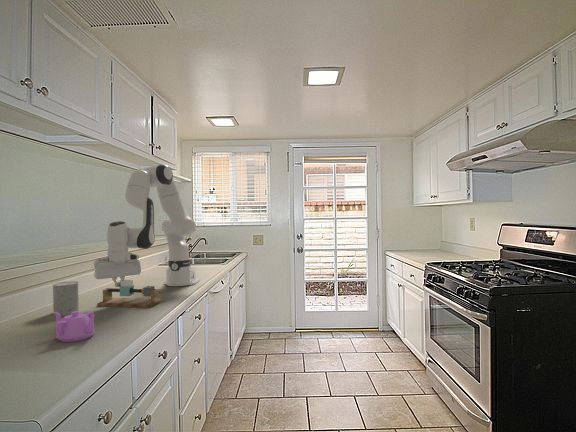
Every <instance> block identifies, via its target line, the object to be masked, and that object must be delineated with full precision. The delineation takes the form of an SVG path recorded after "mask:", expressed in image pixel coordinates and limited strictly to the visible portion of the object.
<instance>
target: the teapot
mask: <svg viewBox="0 0 576 432" xmlns="http://www.w3.org/2000/svg"><path fill="white" fill-rule="evenodd" d="M53 313H54V314H55V315H54V314H53V315H54V316H55V319H56V320H55V321H56V322H55V325H54V326H55V330H56V332H55V338H57V340H58V341H59V342H63V343H75V342H80V341H85V340H87V339H89V338H91V337H92V335H93V334H94V333H95V331H96V330H95V325H96V324H95V316H96V315H97V313H95V314H94V311H89V312H88V311H87V312H86V313H80V310H79V311H74V312H71V313H72V314H69V315H64V316H63V318H62V315H60V314H59V313H58V312H54V311H53Z"/></svg>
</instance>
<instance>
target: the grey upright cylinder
mask: <svg viewBox="0 0 576 432" xmlns="http://www.w3.org/2000/svg"><path fill="white" fill-rule="evenodd" d="M52 295H53V296H52V297H53V298H52V299H53V300H52V302H53V304H52V307H53V312H58V313H59V314H60V316H67V315H71V314H72V313H71V312H74V311H79V312H80V310H79V309H80V306H79V305H80V304H79V281H62V282H56V283H53V284H52ZM53 316H56V315H55V314H54V313H53Z"/></svg>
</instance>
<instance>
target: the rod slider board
mask: <svg viewBox="0 0 576 432" xmlns="http://www.w3.org/2000/svg"><path fill="white" fill-rule="evenodd" d="M155 289H156V288H155ZM163 302H165V301H164V298H160V289H158V288H157V289H156V290H152V291H151V296H150V298H147V297H146V298H145V297H143V298H142V297H141V298H140V297H116V296H115V297H113V292H109V291H108V289H106V288H104V289H102V301H100V302H97V303H96V305H97V307H115V308H117V307H119V308H122V307H124V308H146V307H147V308H149V309H150V308H153V307H155V306H157V305H159V304H161V303H163Z"/></svg>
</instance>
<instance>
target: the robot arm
mask: <svg viewBox="0 0 576 432" xmlns="http://www.w3.org/2000/svg"><path fill="white" fill-rule="evenodd" d="M155 187H156V190H157V194H158V198H159V202H160V204H161V208H162V210H163V212H164V213H165V214H166V215H167V216H168V217H167V218H165V219H164V220H163V221H162V223H161V229H162V232H163V233H164V235H165V238H166V240H167V245H168V258H169V259H168V263H167V264H168V265H167V267H168V268H167V269H166V273H165V274H166V278H165V281H164V283H163V284H164V285H166V286H169V287H182V286H183V287H184V286H192V285H193V286H194V285H196V284H197V283H198V282H200V278H197V276H196V275H197V274H196V271H195V269H194V268H193V267H192V266H191V263H192V258H191V259H190V252H189V247H190V246H189V245H188V243H187V242H186V239H185V237H188V236H189V237H190V235H193V234H194V233H195V232H196V229H197V224H196V222H195V220H194V219H192V217H190V216H189V214H188V212H187V210H186V209H185V207H184V205H183V202H182V199H181V196H180V193H179V190H178V186H177V184H176V182H175V180H174V175H173V170H172V169H171V167H170V166H168V164H157V165H150V166H148V167H144V168H140V169H136V170H134V171H133V172H132V173H131V175H130V177H129V179H128V181H127V185H126V189H125V193H124V194H125V195H124V197H125V200H126V202H127V204H129V206H132V207H134V208H135V209H138V210H140V211H142V214H143V215H142V216H143V217H142V226H141V227H128V226H127V223H126V222H125V221H122V220H121V221H120V220H119V221H113V222H110V223H109V224H108V225H107V226H108V227H107V233H106V234H107V235H106V237H107V238H106V239H107V241H106V242H107V251H106V252H107V257H103V258H101V257H100V258H97V259H96V260H94V263H93V266H94V267H93V268H94V272H93V274H94V275H93V277H94V278H95V279H96V280H103V279H105V280H106V279H111V280H112V281H113V283H114V287H115V288H118V287H119V288H120V286H121V283H120V281H122V280H126V277H129V276H130V277H131V276H137V275H140V274H141V273H142V267H141V266H142V265H141V261H140V260H139V258H140V256H139V255H138V254H136V253H132V252H129V249H144V250H145V249H146V250H148V249H149V248H151V247H152V246H153V245H154V243H155V238H156V237H155V225H154V224H155V223H154V222H155V209H154V208H155V205H154V201H153V200H152V198H150V189H151V188H155ZM118 278H120V280H119V281H117V279H118Z"/></svg>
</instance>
